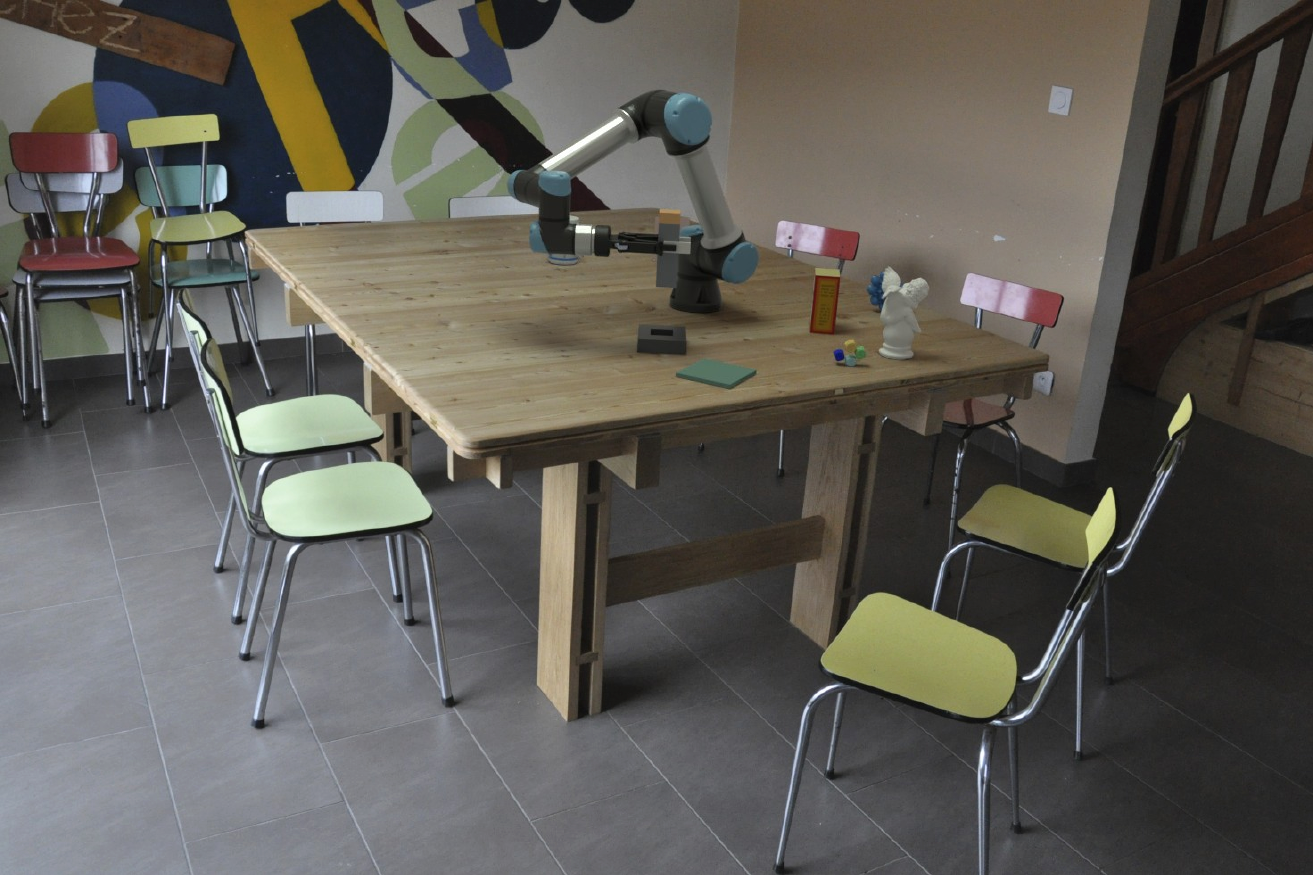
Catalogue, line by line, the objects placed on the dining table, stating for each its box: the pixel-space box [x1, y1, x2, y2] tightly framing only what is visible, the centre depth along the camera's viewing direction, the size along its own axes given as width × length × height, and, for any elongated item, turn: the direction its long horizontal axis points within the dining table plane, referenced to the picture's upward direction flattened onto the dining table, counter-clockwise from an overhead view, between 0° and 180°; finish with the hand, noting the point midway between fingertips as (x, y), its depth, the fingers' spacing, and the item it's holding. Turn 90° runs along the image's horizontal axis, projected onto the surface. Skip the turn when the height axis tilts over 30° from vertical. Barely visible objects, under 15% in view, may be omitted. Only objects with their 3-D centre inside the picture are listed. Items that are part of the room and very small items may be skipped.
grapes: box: [866, 270, 905, 312], centre depth 319 cm, size 12×7×12 cm, turn 89°
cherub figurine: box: [878, 265, 930, 360], centre depth 278 cm, size 12×12×22 cm
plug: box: [655, 208, 682, 289], centre depth 269 cm, size 5×5×18 cm
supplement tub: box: [548, 214, 580, 266], centre depth 359 cm, size 10×10×15 cm
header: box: [636, 323, 687, 355], centre depth 279 cm, size 13×12×4 cm
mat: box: [675, 357, 757, 390], centre depth 260 cm, size 14×14×1 cm
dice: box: [833, 339, 867, 367], centre depth 272 cm, size 8×3×6 cm, turn 89°
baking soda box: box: [808, 267, 841, 335], centre depth 299 cm, size 10×6×16 cm
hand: (690, 245), depth 268 cm, fingers closed on plug, 5 cm apart
